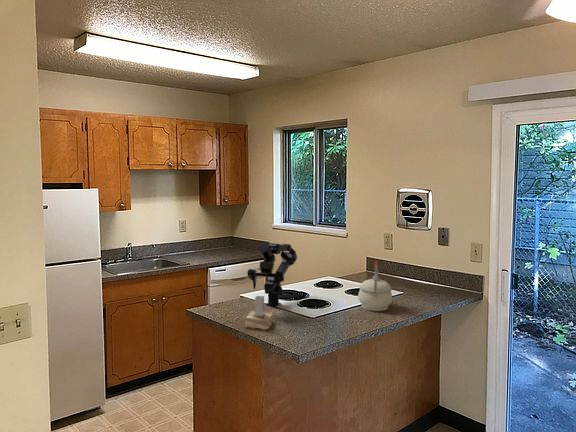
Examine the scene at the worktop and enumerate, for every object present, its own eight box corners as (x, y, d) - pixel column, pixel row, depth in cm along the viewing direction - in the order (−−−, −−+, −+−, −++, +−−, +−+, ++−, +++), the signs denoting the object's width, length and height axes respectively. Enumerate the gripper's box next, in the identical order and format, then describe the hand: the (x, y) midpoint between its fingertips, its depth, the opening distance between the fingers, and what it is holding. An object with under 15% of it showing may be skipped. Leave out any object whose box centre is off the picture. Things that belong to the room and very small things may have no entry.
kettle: (392, 314, 245) (394, 267, 242) (356, 311, 249) (358, 265, 246) (391, 301, 269) (393, 258, 267) (359, 298, 273) (360, 256, 270)
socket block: (251, 320, 231) (251, 311, 230) (272, 322, 229) (273, 313, 228) (245, 327, 220) (245, 318, 220) (267, 329, 218) (268, 320, 218)
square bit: (256, 322, 226) (256, 295, 225) (263, 322, 226) (264, 296, 224) (254, 324, 223) (255, 297, 222) (262, 325, 222) (262, 298, 221)
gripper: (248, 253, 242) (242, 279, 232) (283, 256, 239) (279, 282, 229) (252, 265, 250) (246, 291, 241) (286, 267, 247) (281, 293, 238)
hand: (263, 289), depth 237 cm, fingers open, 9 cm apart
